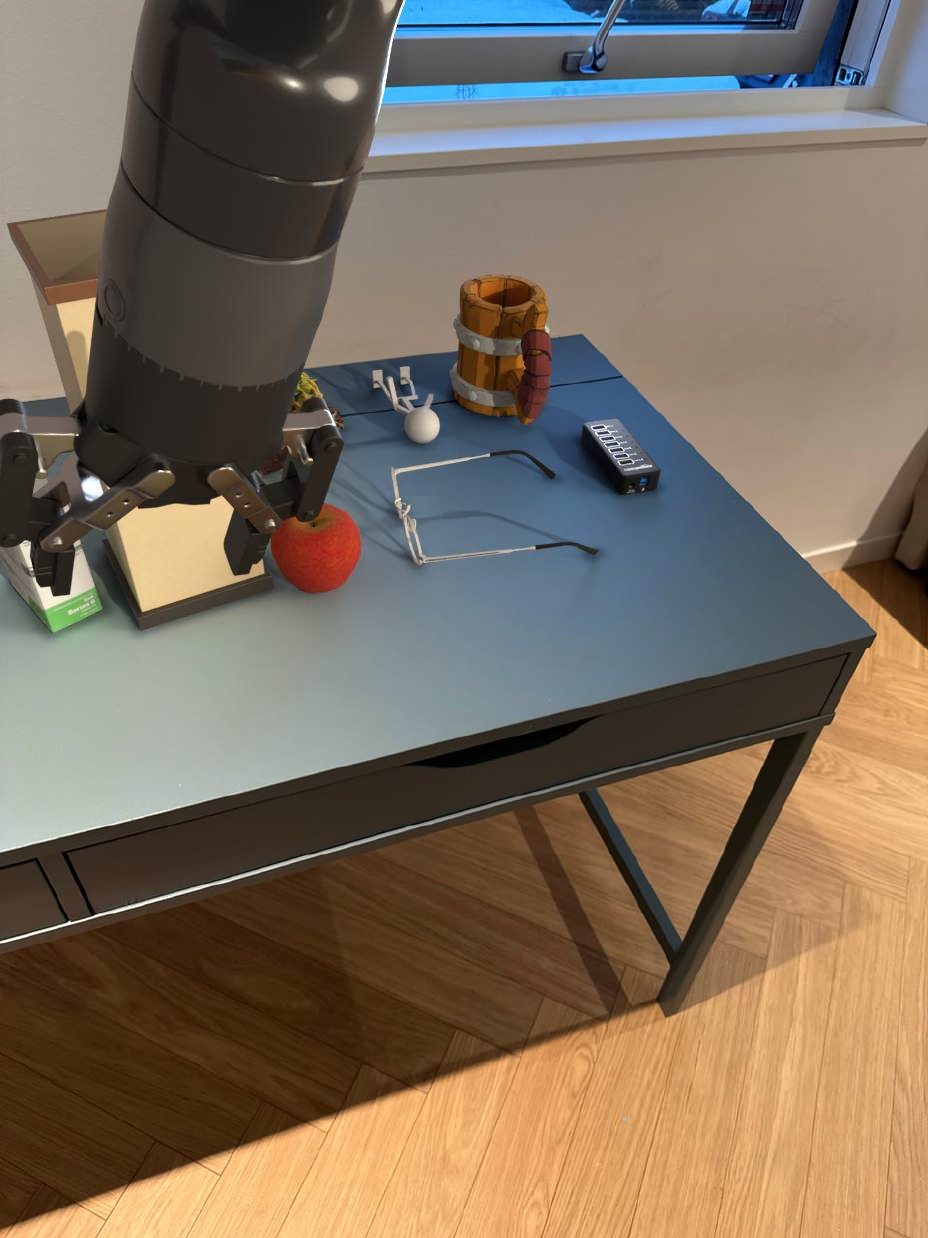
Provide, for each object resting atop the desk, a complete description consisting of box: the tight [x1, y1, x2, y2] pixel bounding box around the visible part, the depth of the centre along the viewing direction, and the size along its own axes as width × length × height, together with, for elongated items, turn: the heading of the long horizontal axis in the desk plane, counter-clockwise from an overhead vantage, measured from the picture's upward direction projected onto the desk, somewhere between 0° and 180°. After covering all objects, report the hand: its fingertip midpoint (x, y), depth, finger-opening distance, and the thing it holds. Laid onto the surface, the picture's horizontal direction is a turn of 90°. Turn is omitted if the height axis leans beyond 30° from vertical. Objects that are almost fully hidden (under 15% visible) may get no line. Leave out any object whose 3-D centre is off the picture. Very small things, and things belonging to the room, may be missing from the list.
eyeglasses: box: [390, 449, 600, 566], centre depth 88 cm, size 16×19×5 cm
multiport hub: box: [580, 418, 662, 496], centre depth 98 cm, size 4×11×2 cm, turn 18°
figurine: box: [371, 365, 441, 444], centre depth 103 cm, size 6×6×15 cm
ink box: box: [0, 477, 103, 633], centre depth 76 cm, size 9×5×12 cm, turn 42°
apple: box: [270, 502, 362, 594], centre depth 80 cm, size 8×8×8 cm
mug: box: [448, 274, 553, 426], centre depth 102 cm, size 11×16×15 cm, turn 24°
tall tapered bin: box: [6, 208, 275, 631], centre depth 73 cm, size 12×12×30 cm
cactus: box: [257, 371, 345, 477], centre depth 97 cm, size 17×16×10 cm
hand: (149, 570), depth 44 cm, fingers open, 8 cm apart
